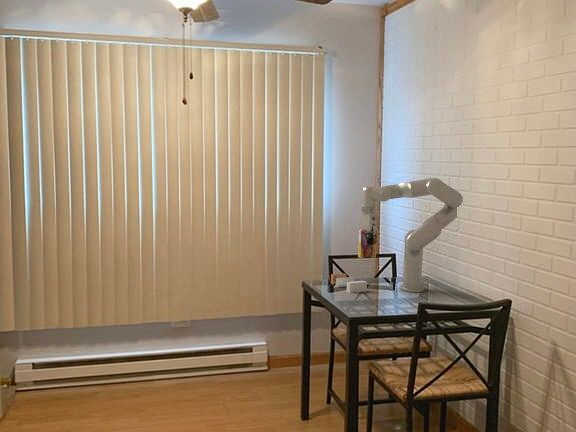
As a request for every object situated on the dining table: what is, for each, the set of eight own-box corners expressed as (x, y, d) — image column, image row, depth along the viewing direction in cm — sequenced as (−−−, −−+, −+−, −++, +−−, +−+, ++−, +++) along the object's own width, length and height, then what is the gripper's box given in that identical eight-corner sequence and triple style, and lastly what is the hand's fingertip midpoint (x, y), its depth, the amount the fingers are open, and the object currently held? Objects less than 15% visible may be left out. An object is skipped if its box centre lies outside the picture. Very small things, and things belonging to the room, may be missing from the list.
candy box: (373, 256, 327) (374, 228, 325) (376, 258, 323) (377, 230, 321) (357, 256, 325) (358, 228, 323) (359, 258, 321) (361, 229, 319)
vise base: (347, 284, 330) (348, 273, 330) (369, 293, 310) (370, 281, 310) (325, 285, 324) (325, 274, 324) (346, 295, 305) (346, 283, 304)
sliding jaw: (345, 282, 328) (345, 273, 328) (354, 286, 320) (354, 276, 320) (329, 283, 324) (329, 274, 324) (337, 287, 316) (338, 277, 315)
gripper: (383, 211, 315) (382, 246, 317) (366, 208, 330) (364, 241, 332) (371, 211, 312) (370, 247, 314) (354, 208, 327) (352, 242, 329)
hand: (367, 243), depth 323 cm, fingers closed on candy box, 4 cm apart
